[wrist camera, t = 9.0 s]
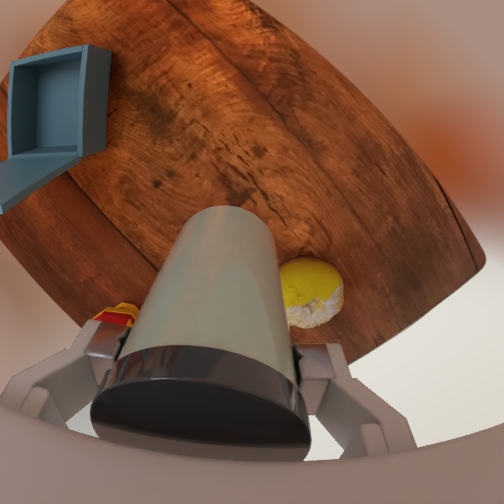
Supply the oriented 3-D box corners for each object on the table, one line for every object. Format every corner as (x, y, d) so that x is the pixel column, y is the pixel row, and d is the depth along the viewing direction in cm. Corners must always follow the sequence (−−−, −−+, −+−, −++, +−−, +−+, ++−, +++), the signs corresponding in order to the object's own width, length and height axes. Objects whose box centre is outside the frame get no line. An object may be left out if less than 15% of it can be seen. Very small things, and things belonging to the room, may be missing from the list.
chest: (38, 63, 31) (10, 61, 25) (112, 51, 32) (88, 44, 26) (35, 152, 37) (8, 161, 31) (106, 149, 38) (82, 158, 32)
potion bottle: (91, 293, 47) (50, 353, 34) (145, 285, 47) (112, 351, 33) (115, 342, 52) (87, 405, 38) (167, 337, 51) (146, 406, 37)
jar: (234, 179, 15) (201, 334, 5) (299, 262, 17) (349, 453, 7) (152, 244, 16) (55, 416, 6) (219, 314, 18) (197, 497, 8)
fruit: (260, 314, 48) (263, 335, 40) (271, 247, 47) (277, 255, 39) (330, 323, 49) (344, 343, 41) (343, 258, 47) (362, 268, 40)
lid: (-71, 204, 18) (-69, 211, 18) (1, 205, 19) (3, 214, 19) (5, 159, 30) (6, 165, 31) (80, 155, 31) (81, 162, 31)
